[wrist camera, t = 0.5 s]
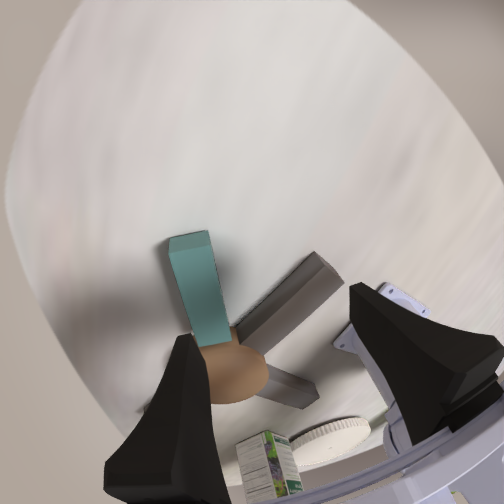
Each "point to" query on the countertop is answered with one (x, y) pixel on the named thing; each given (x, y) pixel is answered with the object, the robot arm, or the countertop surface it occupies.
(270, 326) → the grey brown t-shaped piece
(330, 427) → the plastic lid
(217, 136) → the countertop surface
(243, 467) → the syrup box
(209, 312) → the teal rectangular block
